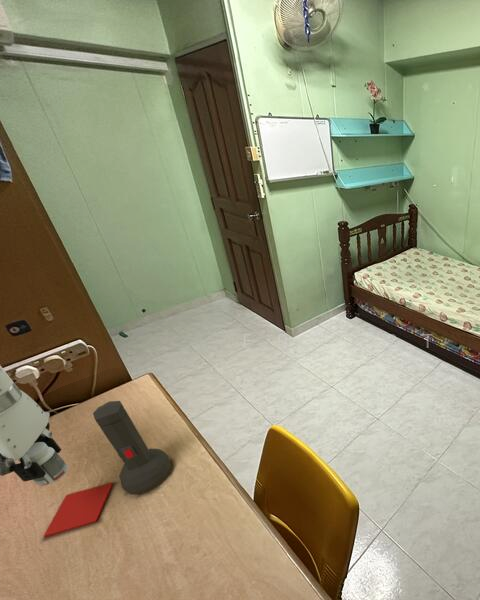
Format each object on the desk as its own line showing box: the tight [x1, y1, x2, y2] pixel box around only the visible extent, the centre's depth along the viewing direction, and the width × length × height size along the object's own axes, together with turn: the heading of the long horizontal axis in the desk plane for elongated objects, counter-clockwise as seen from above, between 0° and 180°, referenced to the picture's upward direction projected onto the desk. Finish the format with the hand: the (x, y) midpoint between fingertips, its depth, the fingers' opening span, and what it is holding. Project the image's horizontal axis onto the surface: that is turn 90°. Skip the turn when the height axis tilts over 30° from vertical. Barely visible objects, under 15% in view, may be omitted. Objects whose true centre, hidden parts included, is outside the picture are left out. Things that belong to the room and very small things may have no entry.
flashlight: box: [92, 400, 172, 495], centre depth 72 cm, size 10×25×10 cm
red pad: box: [43, 482, 114, 538], centre depth 71 cm, size 9×9×1 cm
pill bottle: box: [17, 442, 69, 487], centre depth 63 cm, size 5×5×8 cm
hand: (43, 464), depth 64 cm, fingers closed on pill bottle, 4 cm apart
